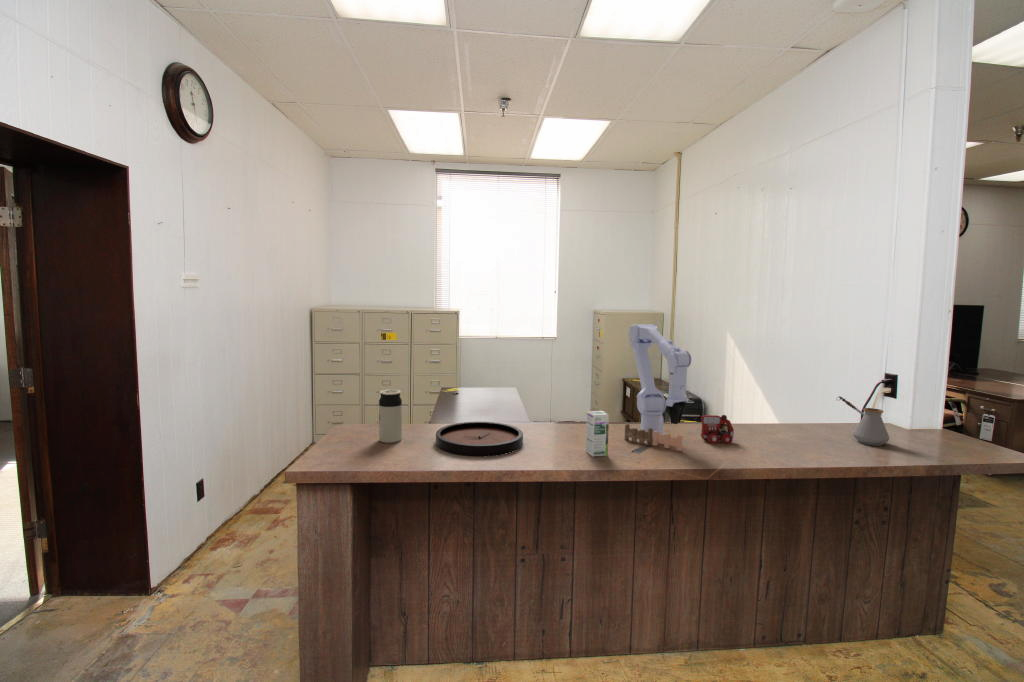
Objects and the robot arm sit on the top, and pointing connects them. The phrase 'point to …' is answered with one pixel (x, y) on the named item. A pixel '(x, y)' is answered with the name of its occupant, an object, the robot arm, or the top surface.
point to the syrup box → (597, 433)
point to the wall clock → (479, 439)
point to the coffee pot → (870, 426)
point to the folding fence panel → (667, 440)
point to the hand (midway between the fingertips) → (675, 422)
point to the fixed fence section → (638, 434)
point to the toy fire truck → (716, 429)
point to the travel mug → (390, 416)
